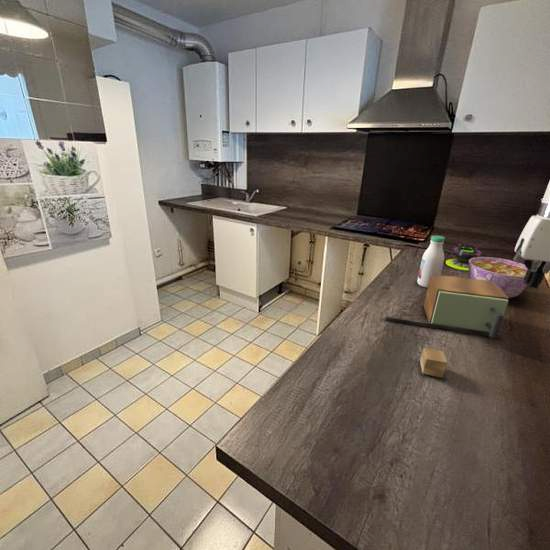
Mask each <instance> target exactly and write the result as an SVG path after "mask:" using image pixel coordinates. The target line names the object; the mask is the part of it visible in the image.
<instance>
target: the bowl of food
mask: <svg viewBox="0 0 550 550" xmlns="http://www.w3.org/2000/svg"><path fill="white" fill-rule="evenodd" d="M526 272H527V268H526V266H525V265H524V264H522V263H519V262H516V261H515V260H510V259H506V258H501V257H492V256H490V257H489V256H477V257H475V258H471V259H470V260H469V271H468V278H469V279H478V280H487V281H494V282H495V283H496V284H497V286H498V287H499V288H500V289H501V290H502V291H503V292H504V293H505V294H506V295H507V296H508V298H509V299H512V298H515V297H517V296H519V295H521V294H522V293H523V292H524V291H525V289H526V288H527V287H528V286H527V285H526V284H525V283H524V277H525V275H526Z"/></svg>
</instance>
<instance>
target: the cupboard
mask: <svg viewBox="0 0 550 550" xmlns="http://www.w3.org/2000/svg"><path fill="white" fill-rule="evenodd" d="M439 291H443V292H451V293H459V294H467V295H476V296H484V297H492V298H500V299H507V300H508V301H509V299H510V298H508V296H507V295H506V294H505V293H504V292H503V291H502V290H501V289H500V288H499V287H498V286H497V284H496V283H495V282H494V281H487V280H478V279H469V277H468V278H467V277H459V276H449V275H442V274H441V275H432V274H431V276H430V281H429V285H428V288H427V289H426V294H425V299H424V303H423V308H424V311H425V314H426V318H427V321H428V322H427V321H422V320H421V321H420V320H414V319H406V318H400V317H393V316H388V315H385V321H388V322H394V323H401V324H407V325H414V326H420V327H427V328H433V329H438V330H444V331H445V330H446V331H452V332H458V333H463V334H464V333H466V334H472V335H477V336H478V335H479V336H485V337H490V336H489V334H490V332H486V331H480V330H473V329H467V328H460V327H453V326H447V325H440V324H434V323H431V322H432V318H433V314H434V310H435V306H436V302H437V298H438V294H439ZM500 337H501V334H500V333H499V332H498V333H497V336H496V338H495V339H497V338H498V339H499V338H500Z"/></svg>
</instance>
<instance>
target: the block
mask: <svg viewBox="0 0 550 550" xmlns="http://www.w3.org/2000/svg"><path fill="white" fill-rule="evenodd" d="M419 363H420V369H421V374H422V375H427V376H432V377H437V378H444V376H445V373H446V369H447V365H448V361H447V357H446V355H445V352H444V350H438V349H433V348H427V347H423V349H422V352H421V357H420V360H419Z"/></svg>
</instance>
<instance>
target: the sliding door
mask: <svg viewBox="0 0 550 550" xmlns="http://www.w3.org/2000/svg"><path fill="white" fill-rule="evenodd" d="M508 304H509V299H508V300H507V299H500V298H492V297H484V296H476V295H467V294H459V293H451V292H443V291H439V294H438V298H437V302H436V306H435V310H434V314H433V318H432V322H431V323H434V324H440V325H447V326H453V327H460V328H467V329H473V330H480V331H486V332H490V334H489V336H488V337H490V338H492V339H497V338H496V336H497V333H499V330H500V327H501V324H502V322H503V319H504V317H505V312H506V310H507V307H508Z"/></svg>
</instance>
